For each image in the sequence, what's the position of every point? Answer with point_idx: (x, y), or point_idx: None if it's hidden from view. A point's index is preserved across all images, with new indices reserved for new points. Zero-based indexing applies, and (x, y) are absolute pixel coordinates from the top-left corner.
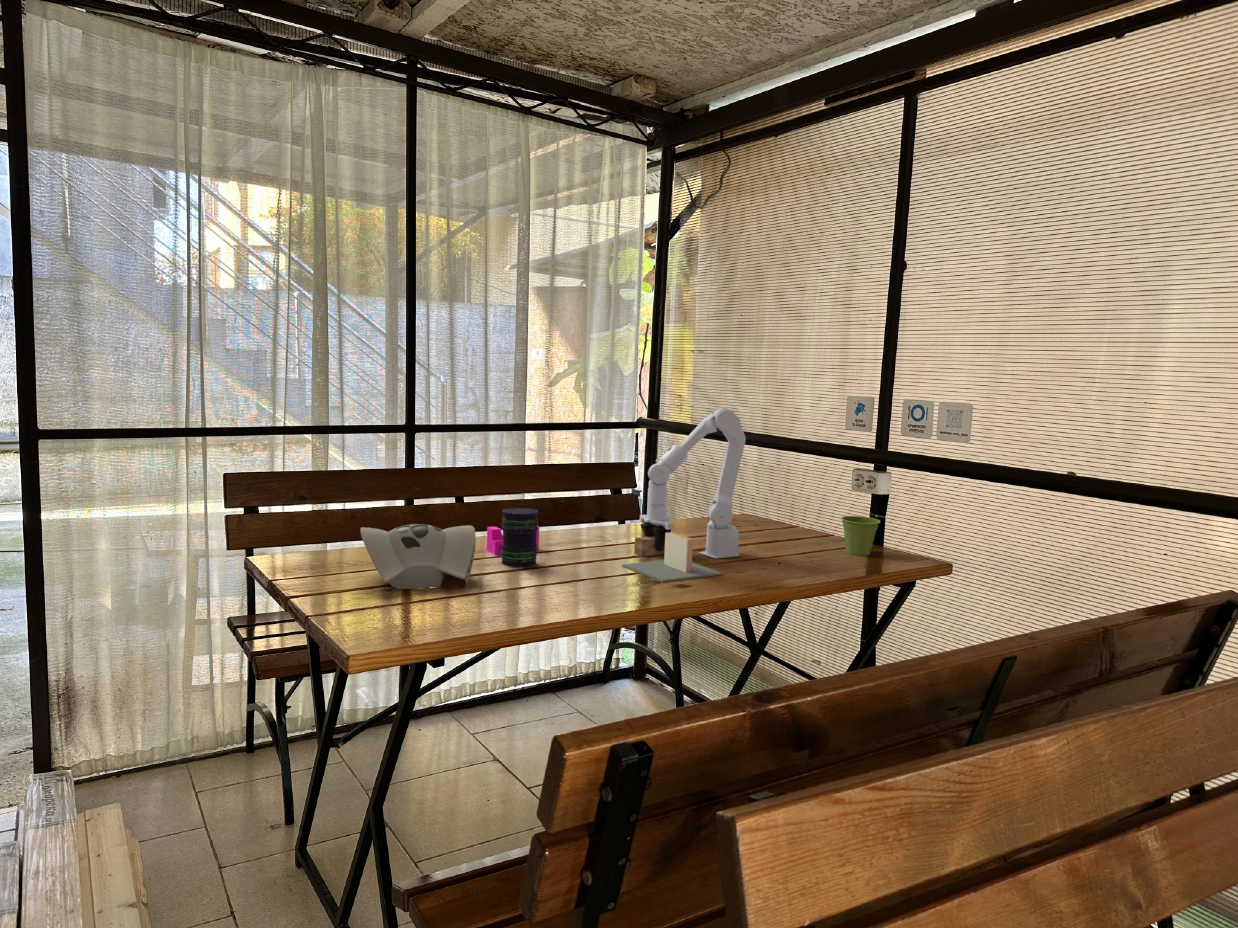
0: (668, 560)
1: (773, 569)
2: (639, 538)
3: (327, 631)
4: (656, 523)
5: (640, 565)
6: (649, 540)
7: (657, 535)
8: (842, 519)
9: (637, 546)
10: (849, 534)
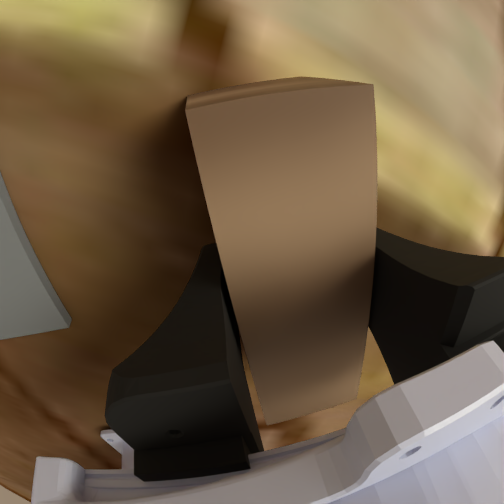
0: None
1: (20, 461)
2: (315, 117)
3: None
4: (188, 489)
5: None
6: (211, 217)
7: (151, 336)
8: None
9: (280, 84)
10: None
